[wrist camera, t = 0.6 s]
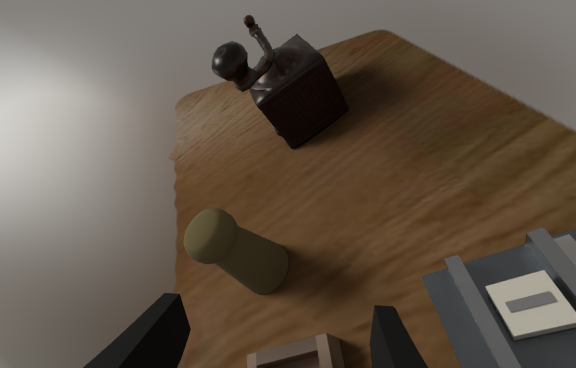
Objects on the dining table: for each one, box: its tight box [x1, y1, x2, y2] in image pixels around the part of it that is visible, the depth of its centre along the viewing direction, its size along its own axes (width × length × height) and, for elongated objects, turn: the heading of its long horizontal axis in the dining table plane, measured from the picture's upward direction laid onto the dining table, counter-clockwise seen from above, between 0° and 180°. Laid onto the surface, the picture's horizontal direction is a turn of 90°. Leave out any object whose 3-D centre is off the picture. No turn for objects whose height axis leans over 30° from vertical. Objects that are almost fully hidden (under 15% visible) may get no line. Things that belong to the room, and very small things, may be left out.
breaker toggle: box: [485, 270, 576, 341], centre depth 18 cm, size 3×3×2 cm
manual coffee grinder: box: [212, 15, 349, 149], centre depth 37 cm, size 16×11×18 cm
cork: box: [184, 208, 289, 295], centre depth 29 cm, size 6×6×11 cm
